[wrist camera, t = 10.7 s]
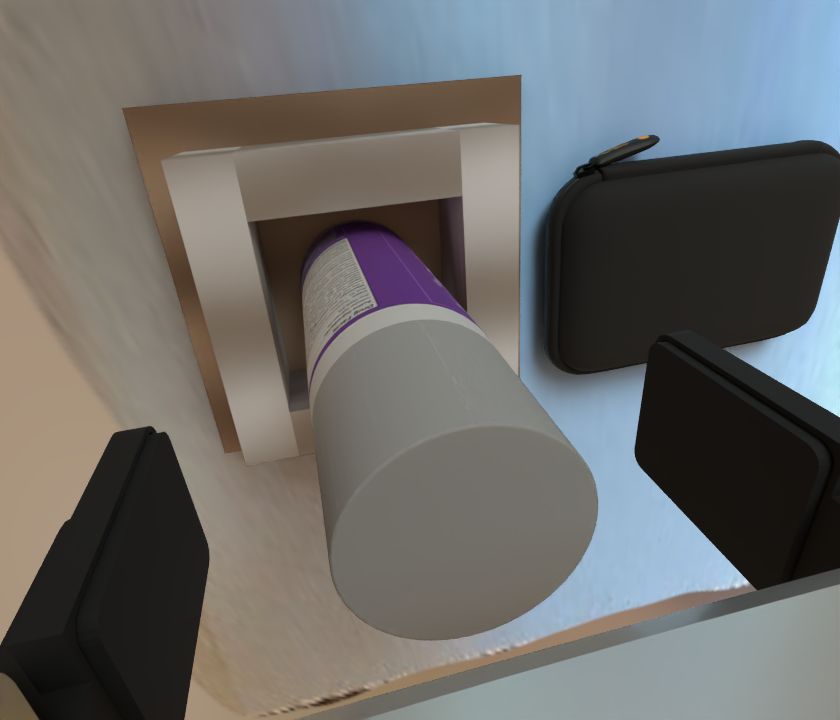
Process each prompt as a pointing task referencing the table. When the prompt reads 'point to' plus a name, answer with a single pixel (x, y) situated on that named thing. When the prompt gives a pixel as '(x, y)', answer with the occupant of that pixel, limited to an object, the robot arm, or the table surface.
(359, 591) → the container
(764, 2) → the table surface
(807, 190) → the carrying case or bag
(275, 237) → the mount
